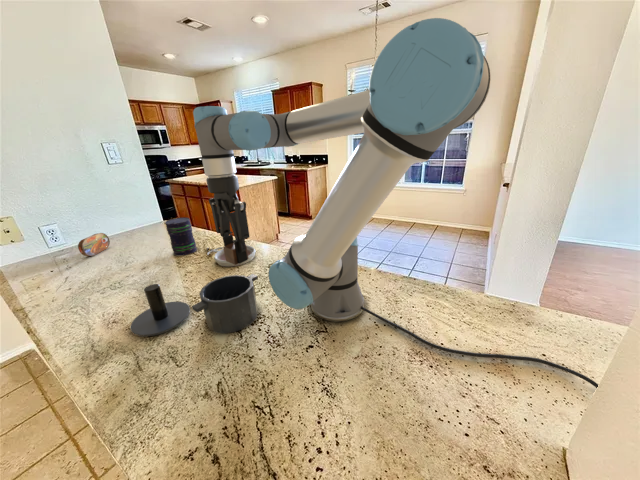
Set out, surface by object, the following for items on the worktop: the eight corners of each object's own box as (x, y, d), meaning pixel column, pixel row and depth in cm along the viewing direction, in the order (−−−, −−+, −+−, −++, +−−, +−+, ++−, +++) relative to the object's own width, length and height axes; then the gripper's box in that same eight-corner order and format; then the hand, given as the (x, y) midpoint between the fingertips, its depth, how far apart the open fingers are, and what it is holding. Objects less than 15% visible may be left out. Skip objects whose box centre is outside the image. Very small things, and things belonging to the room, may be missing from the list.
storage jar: (182, 247, 127) (174, 217, 121) (201, 247, 125) (194, 217, 120) (168, 255, 117) (159, 224, 112) (188, 256, 116) (180, 223, 111)
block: (248, 258, 75) (246, 244, 73) (235, 265, 72) (232, 249, 70) (239, 255, 78) (236, 241, 76) (225, 261, 74) (222, 246, 73)
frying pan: (220, 239, 127) (263, 247, 113) (222, 245, 128) (264, 254, 114) (188, 252, 114) (232, 263, 99) (190, 258, 115) (234, 270, 100)
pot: (274, 307, 77) (270, 278, 74) (217, 347, 63) (209, 314, 60) (244, 293, 85) (239, 267, 81) (188, 326, 71) (179, 296, 67)
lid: (200, 315, 75) (192, 282, 72) (145, 346, 65) (132, 310, 61) (175, 299, 84) (166, 269, 80) (123, 325, 73) (109, 292, 69)
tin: (87, 258, 119) (80, 241, 116) (80, 259, 119) (73, 241, 116) (112, 246, 133) (106, 230, 130) (106, 246, 134) (100, 230, 130)
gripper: (255, 174, 64) (267, 261, 72) (215, 172, 74) (230, 248, 82) (229, 179, 58) (245, 272, 67) (189, 176, 69) (208, 257, 77)
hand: (237, 259), depth 75 cm, fingers closed on block, 4 cm apart
